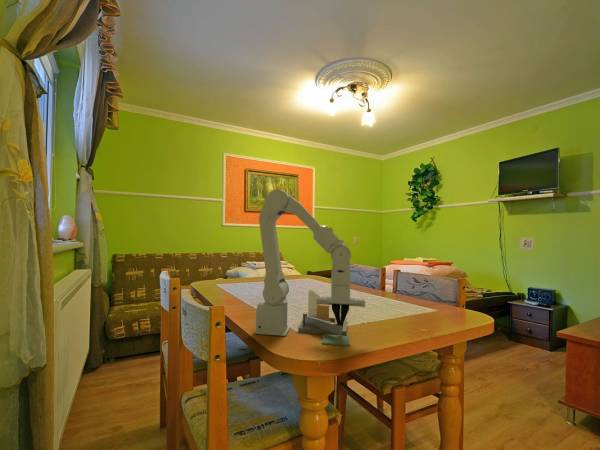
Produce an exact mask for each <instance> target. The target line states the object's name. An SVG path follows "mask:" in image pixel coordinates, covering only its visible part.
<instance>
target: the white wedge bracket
mask: <svg viewBox="0 0 600 450" xmlns="http://www.w3.org/2000/svg"><path fill="white" fill-rule="evenodd" d="M317 297H321V296H320V295H319V294H317V293H316V292H315V291H313V290H310V289H309V290H308V300H307V301H308V303H307V304H308V307H307V308H308V310H307V315H308V316H317V305H316V298H317Z"/></svg>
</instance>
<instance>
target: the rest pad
mask: <svg viewBox="0 0 600 450" xmlns="http://www.w3.org/2000/svg"><path fill="white" fill-rule="evenodd" d="M321 345H328V346H339V347H350V346H351V345H350V335H333V334H323V336H322V340H321Z"/></svg>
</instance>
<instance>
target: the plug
mask: <svg viewBox="0 0 600 450" xmlns="http://www.w3.org/2000/svg"><path fill="white" fill-rule="evenodd" d="M329 317H330V305H323V304H320V305H317V316H316V318H318V319H321V320H325V321H328V322H331V321H330V320H329ZM331 323H332V322H331Z"/></svg>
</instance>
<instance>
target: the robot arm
mask: <svg viewBox="0 0 600 450" xmlns="http://www.w3.org/2000/svg"><path fill="white" fill-rule="evenodd" d="M287 212H288V213H291V214H293V215H295V216H296V217H297V218H298V219H299V220H300V221H301V222H302V223H304V224H305V226H306V227H307V228H308V229H310V230H311V232H312V233H313V234H312V235H313V236H312V237H313V240H314V241H315V242H316V243H317V244H318V245H319V246H320V247H321V248H322V249H323V250H324V251H325V252H326V254H330V259H331V261H332V265H331V266H332V267H331V278H330V280H331V283H330V284H331V285H330V286H331V287H330V289H331V290H330V296H320V297H317V298H316V305H320V304H323V305H329V306H331V310H332V313H333V315H334V318H336V321H337V324H338V325H342V328H343V324H344V320H345V318H347V315H348V313H349V311H350V307H360V308H366V300H365V298H364V299H362V298H353V297H351V271H352V270H351V263H350V260H351V258H352V255H351V252H352V251H351V249H350V248H349V246H348V245H347V244H345V242H344V240H343V239H340V238H339V236H338V235H336V233H334V232H333V231H334V229H333V227H328V225H321V224H320V223H319V222H318V221H317V220H316V218H314V217H313V215H312V214H311V213H310V212H309V211H308V210H307V208H305V206H304V205H303V204H302V203H300V202H299V201H298V200H297V199H295V198H293V197H292V195H291V194H289V193H287V192H286V191H284V190H283V189H281V188H274V189H273V190H271V191H270V192H269V193H268V194H267V195H266V196H265V197H264V202H263V205H262V208H261V210H260V213H259V216H258V223H259V231H260V237H261V247H262V251H263V252H262V253H263V260H264V261H263V262H264V268H265V276H264V280H263V283H264V284H263V285H264V286H263V287H264V288H263V291H262V297H263V299H264V301H259V302H258V303H257V306H256V312H255V332H254V334H255V335H267V336H279V337H280V336H281V337H284V336H285V337H286V336H287V335H288V332H289V330H290V329H291V326H290V325H288V307H289V306H288V303H289V302H288V299H287V295H289V290H290V286H289V284H288V282H287V281H286V277H285V273H284V272H283V269H282V268H283V267H282V261H281V254H280V247H279V246H280V245H279V238H278V232H277V225H276V223H277V221H278V220H279V219H280V217H281V216H282V215H284V214H286V213H287ZM340 318H341V322H340Z"/></svg>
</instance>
